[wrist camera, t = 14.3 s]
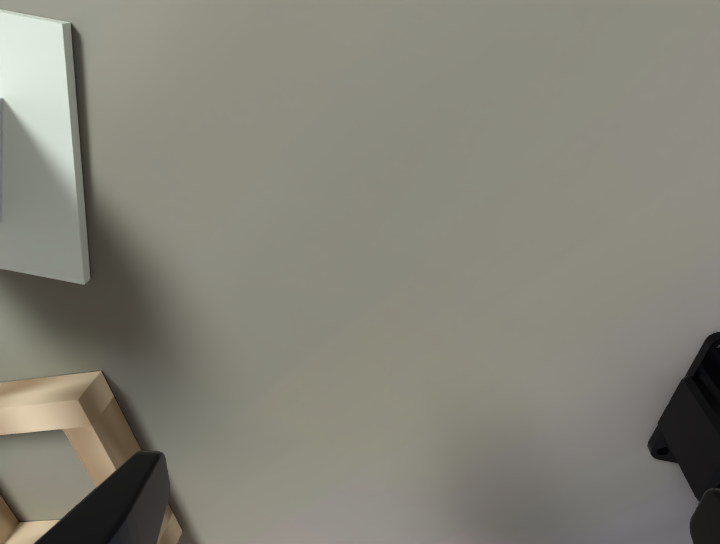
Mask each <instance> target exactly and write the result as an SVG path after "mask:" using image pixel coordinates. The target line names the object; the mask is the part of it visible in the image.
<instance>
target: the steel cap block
mask: <svg viewBox="0 0 720 544" xmlns="http://www.w3.org/2000/svg"><path fill="white" fill-rule="evenodd" d="M2 177H3V98H1V97H0V223H1V222H2Z"/></svg>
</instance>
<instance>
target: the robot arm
mask: <svg viewBox="0 0 720 544" xmlns="http://www.w3.org/2000/svg"><path fill="white" fill-rule="evenodd" d="M719 344H720V332H717V333H713V334H712V335H710V336H708V338H707V339H706V340H705V342H704V344H703V345H702V347H701V349H700V351H699V352H698V354H697V356H696V358H695V360H694V361H693V363H692V365H691V367H690V369H689V370H688V372H687V374H686V376H685V378H683V379H682V380H681V382H680V384H679V386H678V387H677V389H676V391H675V393H674V395H673V396H672V398H671V400H670V402H669V403H668V405H667V407H666V409H665V411H664V412H663V414H662V416H661V418H660V420H659V421H658V426H657V428H656V429H655V431H654V433H653V435H652V436H651V438H650V440H649V442H648V445H647V446H648V449H649V451H650V453H651V455H652V456H653V457H654V458H656V459H659V460H664V461H669V462H674V463H678V464H679V466H680V468H681V470H682V472H683V474H684V476H685V478H686V479H687V481H688V483H689V485H690V487H691V489H692V491H693V493H694V495H695V497H696V498H697V500H698V501H699V504H698V506H697V508H696V510H695V512H694V513H693V515H692V517H691V520H690V533H691V537H692V540H693V544H720V347H719V348H716V347H717V346H718V345H719ZM661 447H663V448H661ZM659 448H661V449H659ZM169 494H170V482H169V476H168V470H167V464H166V458H165V455H164V454H163V453H162V452H160V451H145V450H142V451H138V452H136V453H135V454H133V455H132V456H131V457H130V458H129V459H128V460H127V461H126V462H124V463H123V464H122V465H121V466H120V467H119V468H118V469H117V470H115V471H114V472H113V473H112V474H111V475H110V476H109V477H108V478H106V479H105V480H104V481H103V482H102V483H101V484H100V485H99V486H97V487H96V488H95V489H94V490H93V491H92V492H91V493H90V494H89V495H87V496H86V497H85V498H84V499H83V500H82V501H81V502H80V503H78V504H77V505H76V506H75V507H74V508H73V509H72V510H71V511H69V512H68V513H67V514H66V515H65V516H64V517H63V518H62V519H60V520H59V521H58V522H57V523H56V524H55V525H54V526H53V527H52V528H50V529H49V530H48V531H47V532H46V533H45V534H44V535H43V536H41V537H40V538H39V539H38V540H37V541H36V542H35V543H34V544H157V541H158V537H159V533H160V530H161V526H162V522H163V518H164V515H165V511H166V507H167V503H168V499H169Z"/></svg>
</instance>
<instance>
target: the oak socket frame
mask: <svg viewBox="0 0 720 544" xmlns="http://www.w3.org/2000/svg"><path fill="white" fill-rule="evenodd" d="M57 429H62V430H63V431H64V433H65V435H66V437H67V438H68V440H69V442H70V443H71V445H72V447H73V449H74V450H75V452H76V454H77V456H78V457H79V459H80V461H81V462H82V464H83V466H84V468H85V469H86V471H87V473H88V475H89V476H90V478H91V480H92V481H93V483H94V485H95V487H97V486H99V485H100V484H101V483H102V482H103V481H104V480H105V479H106V478H108V477H109V476H110V475H111V474H112V473H113V472H114V471H115V470H117V469H118V468H119V467H120V466H121V465H122V464H123V463H124V462H126V461H127V460H128V459H129V458H130V457H131V456H132V455H133V454H135V453H136V452H138V451H141V449H140V447H139V445H138V443H137V441H136V439H135V437H134V435H133V433H132V431H131V429H130V427H129V425H128V423H127V421H126V419H125V417H124V415H123V413H122V411H121V409H120V407H119V405H118V403H117V401H116V399H115V397H114V395H113V393H112V391H111V390H110V388H109V386H108V384H107V382H106V380H105V378H104V376H103V374H102V372H101V371H96V372H87V373H79V374H70V375H62V376H53V377H44V378H36V379H27V380H18V381H10V382H1V383H0V435H6V434H16V433H26V432H37V431H47V430H57ZM58 521H59V520H48V521H33V522H19V521H18V520H17V519H16V517H15V516H14V514H13V513H12V511H11V510H10V508H9V507H8V506H7V504H6V503H5V501H4V500H3V498H2V497H1V495H0V544H34V543H35V542H36V541H37V540H38V539H39V538H40V537H41V536H43V535H44V534H45V533H46V532H47V531H48V530H49V529H50V528H52V527H53V526H54V525H55V524H56V523H57V522H58ZM181 534H182V529H181V527H180V525H179V524H178V522H177V520H176V518H175V516H174V514H173V512H172V510H171V508H170V506H169V504H168V503H167V507H166V511H165V515H164V518H163V522H162V526H161V530H160V533H159V537H158V541H157V544H177V543H178V541H179V538H180V536H181Z"/></svg>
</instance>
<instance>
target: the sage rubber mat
mask: <svg viewBox="0 0 720 544" xmlns="http://www.w3.org/2000/svg"><path fill="white" fill-rule="evenodd" d="M0 97H1V98H3V177H2V222H1V223H0V269H5V270H10V271H15V272H20V273H26V274H31V275H36V276H41V277H46V278H52V279H57V280H62V281H67V282H72V283H78V284H83V285H84V284H86V283H87V282H88V281H89V280H90V266H89V254H88V241H87V228H86V215H85V202H84V189H83V177H82V164H81V151H80V138H79V125H78V112H77V100H76V87H75V74H74V61H73V48H72V35H71V23H70V22H65V21H60V20H54V19H49V18H44V17H38V16H33V15H28V14H22V13H17V12H12V11H6V10H1V9H0Z"/></svg>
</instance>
